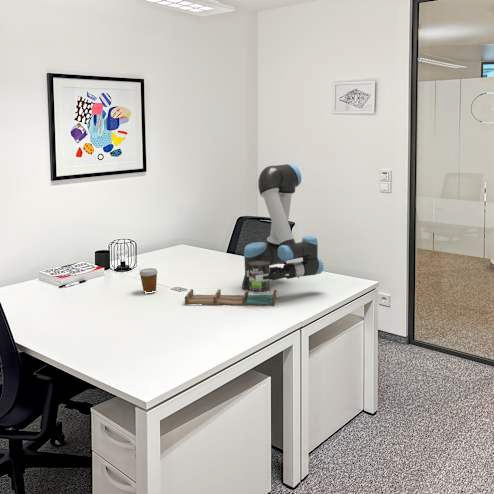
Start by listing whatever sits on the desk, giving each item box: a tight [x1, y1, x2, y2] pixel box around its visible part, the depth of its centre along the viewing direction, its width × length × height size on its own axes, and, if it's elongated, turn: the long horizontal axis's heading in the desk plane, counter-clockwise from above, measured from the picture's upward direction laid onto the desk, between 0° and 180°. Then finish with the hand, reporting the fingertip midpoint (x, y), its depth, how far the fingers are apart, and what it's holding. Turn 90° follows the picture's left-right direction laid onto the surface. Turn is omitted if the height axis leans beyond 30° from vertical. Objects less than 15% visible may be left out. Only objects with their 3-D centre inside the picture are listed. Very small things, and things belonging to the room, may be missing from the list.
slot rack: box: [184, 288, 277, 307], centre depth 291 cm, size 14×43×4 cm, turn 82°
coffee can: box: [248, 260, 271, 295], centre depth 286 cm, size 10×10×14 cm
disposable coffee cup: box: [139, 267, 159, 292], centre depth 310 cm, size 10×10×12 cm
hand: (251, 276), depth 285 cm, fingers closed on coffee can, 10 cm apart
